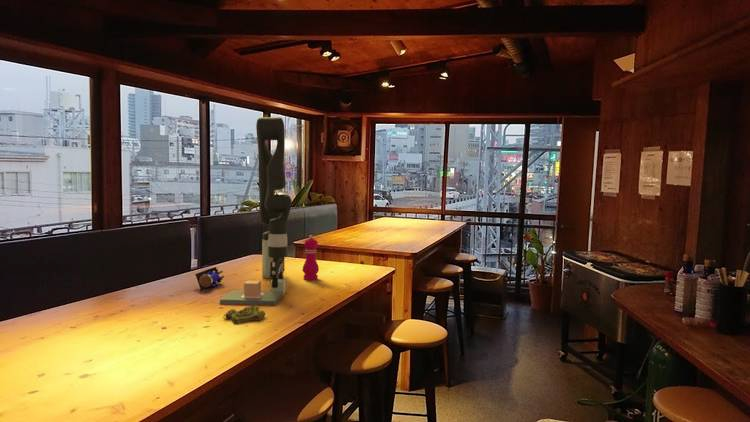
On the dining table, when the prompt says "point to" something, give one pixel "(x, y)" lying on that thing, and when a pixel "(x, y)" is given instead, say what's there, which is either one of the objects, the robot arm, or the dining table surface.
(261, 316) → the spaceship toy
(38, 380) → the dining table surface
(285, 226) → the robot arm
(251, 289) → the terracotta block
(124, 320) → the dining table surface
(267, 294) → the base plate
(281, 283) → the sage block
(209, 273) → the character figurine
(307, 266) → the pepper mill
